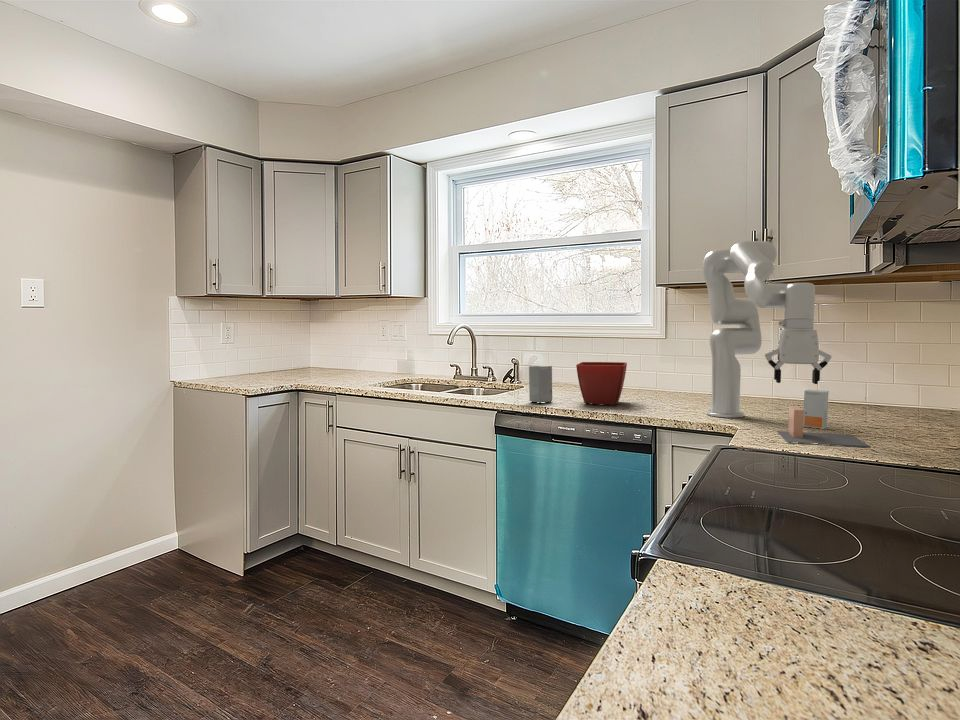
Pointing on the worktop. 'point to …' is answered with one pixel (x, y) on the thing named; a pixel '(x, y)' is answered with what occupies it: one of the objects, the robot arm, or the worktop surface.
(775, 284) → the robot arm
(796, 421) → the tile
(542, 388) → the grey canister
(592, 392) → the plant pot
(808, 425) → the skincare box
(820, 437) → the mat
